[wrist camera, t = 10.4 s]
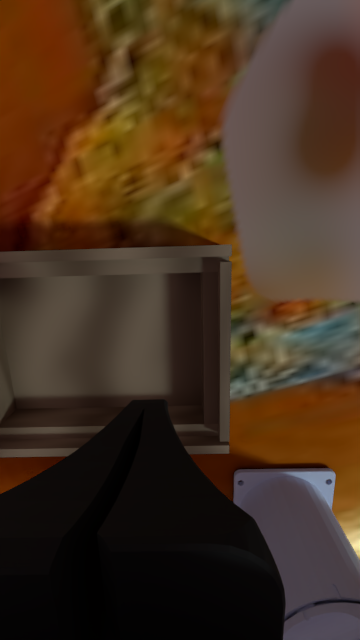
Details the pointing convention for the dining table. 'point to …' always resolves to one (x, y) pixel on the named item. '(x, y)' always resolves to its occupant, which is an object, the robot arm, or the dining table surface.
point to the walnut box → (113, 344)
